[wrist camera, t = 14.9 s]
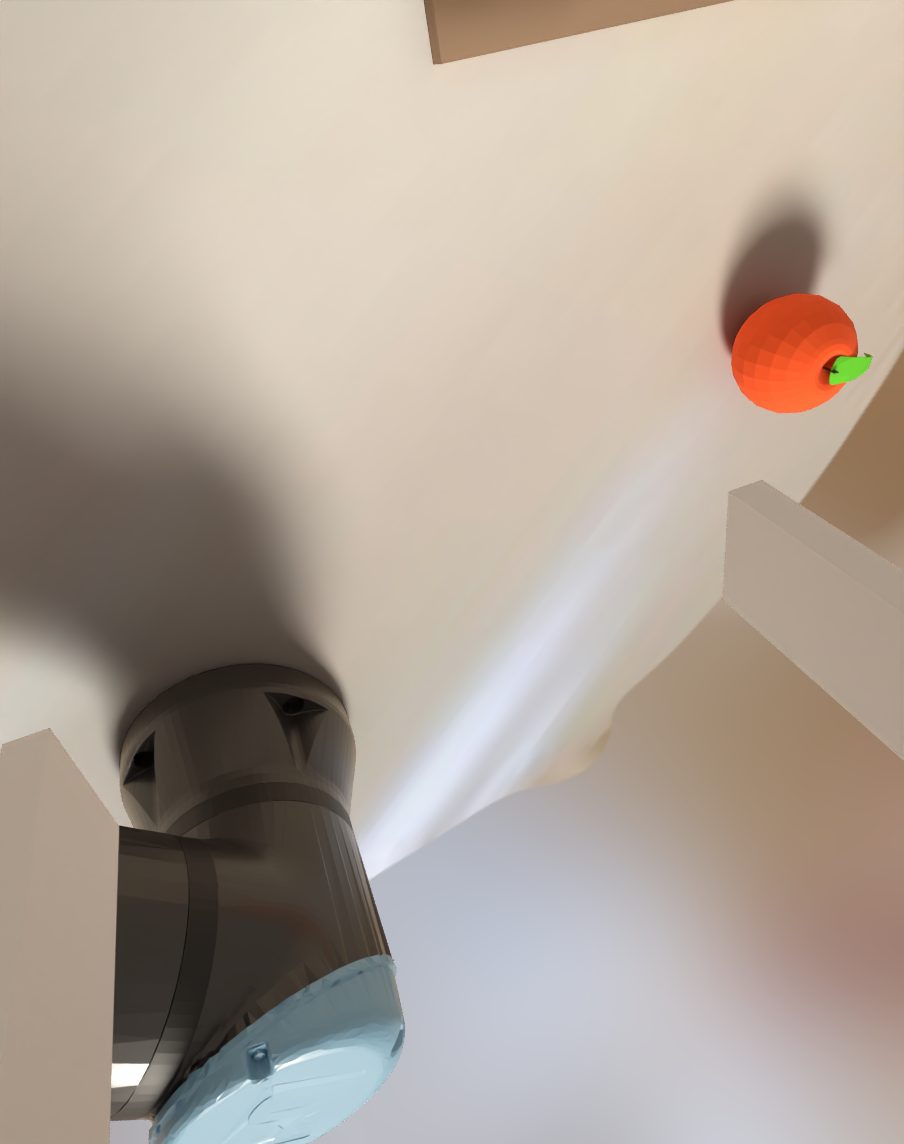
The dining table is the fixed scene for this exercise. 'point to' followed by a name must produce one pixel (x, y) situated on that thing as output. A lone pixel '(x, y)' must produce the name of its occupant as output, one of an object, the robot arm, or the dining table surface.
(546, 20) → the wooden board with blocks
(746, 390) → the clementine
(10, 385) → the dining table surface
